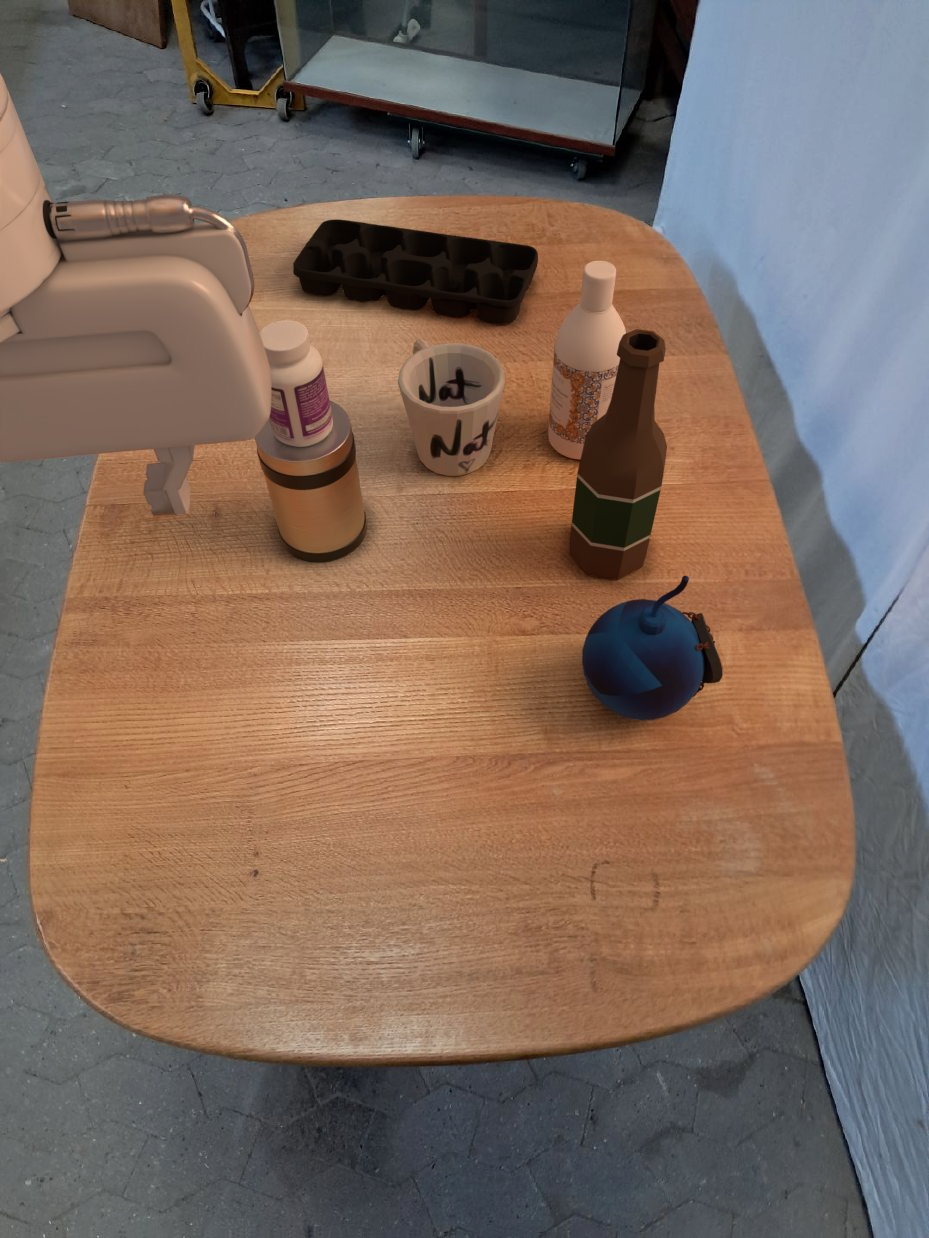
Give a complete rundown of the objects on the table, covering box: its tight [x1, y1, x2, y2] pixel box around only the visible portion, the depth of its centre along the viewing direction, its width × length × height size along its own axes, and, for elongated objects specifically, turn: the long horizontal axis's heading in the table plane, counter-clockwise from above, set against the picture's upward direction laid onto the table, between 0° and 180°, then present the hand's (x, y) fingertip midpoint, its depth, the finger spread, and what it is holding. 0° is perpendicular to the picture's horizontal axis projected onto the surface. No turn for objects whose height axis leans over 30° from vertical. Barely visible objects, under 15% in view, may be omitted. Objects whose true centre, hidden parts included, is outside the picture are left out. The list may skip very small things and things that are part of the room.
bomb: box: [581, 575, 724, 722], centre depth 72 cm, size 10×11×15 cm
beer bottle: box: [568, 328, 668, 581], centre depth 77 cm, size 8×8×24 cm
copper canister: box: [254, 400, 368, 563], centre depth 84 cm, size 9×9×13 cm
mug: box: [397, 339, 506, 477], centre depth 93 cm, size 10×15×10 cm
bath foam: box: [547, 260, 627, 460], centre depth 88 cm, size 7×7×20 cm
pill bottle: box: [259, 319, 333, 447], centre depth 75 cm, size 5×5×10 cm
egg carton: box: [292, 218, 539, 325], centre depth 112 cm, size 18×30×4 cm, turn 87°
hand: (65, 515), depth 40 cm, fingers open, 8 cm apart
